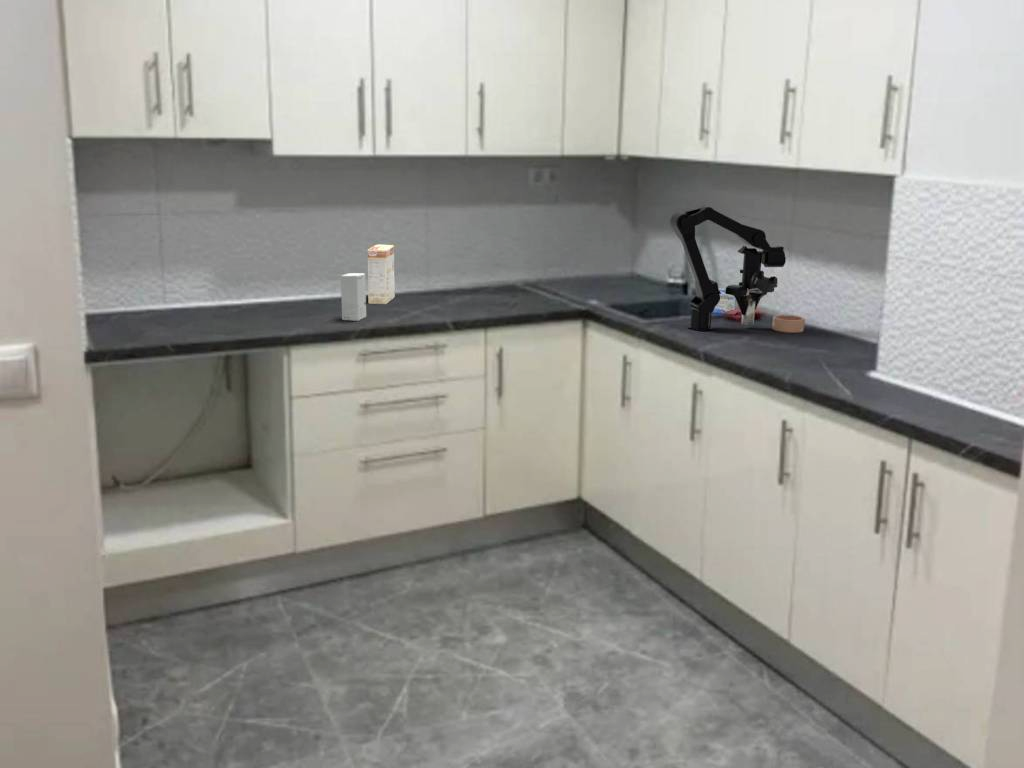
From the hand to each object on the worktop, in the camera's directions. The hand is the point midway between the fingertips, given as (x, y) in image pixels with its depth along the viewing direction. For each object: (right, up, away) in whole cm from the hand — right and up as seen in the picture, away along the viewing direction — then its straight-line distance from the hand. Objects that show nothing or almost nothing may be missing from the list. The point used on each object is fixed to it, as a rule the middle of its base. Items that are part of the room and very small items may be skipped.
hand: (748, 314), depth 342 cm
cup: (+13, -5, +1) cm, 14 cm away
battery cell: (0, -3, +1) cm, 3 cm away
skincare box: (-130, -1, +2) cm, 130 cm away
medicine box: (-2, +2, +28) cm, 28 cm away
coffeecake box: (-125, +7, +37) cm, 131 cm away
